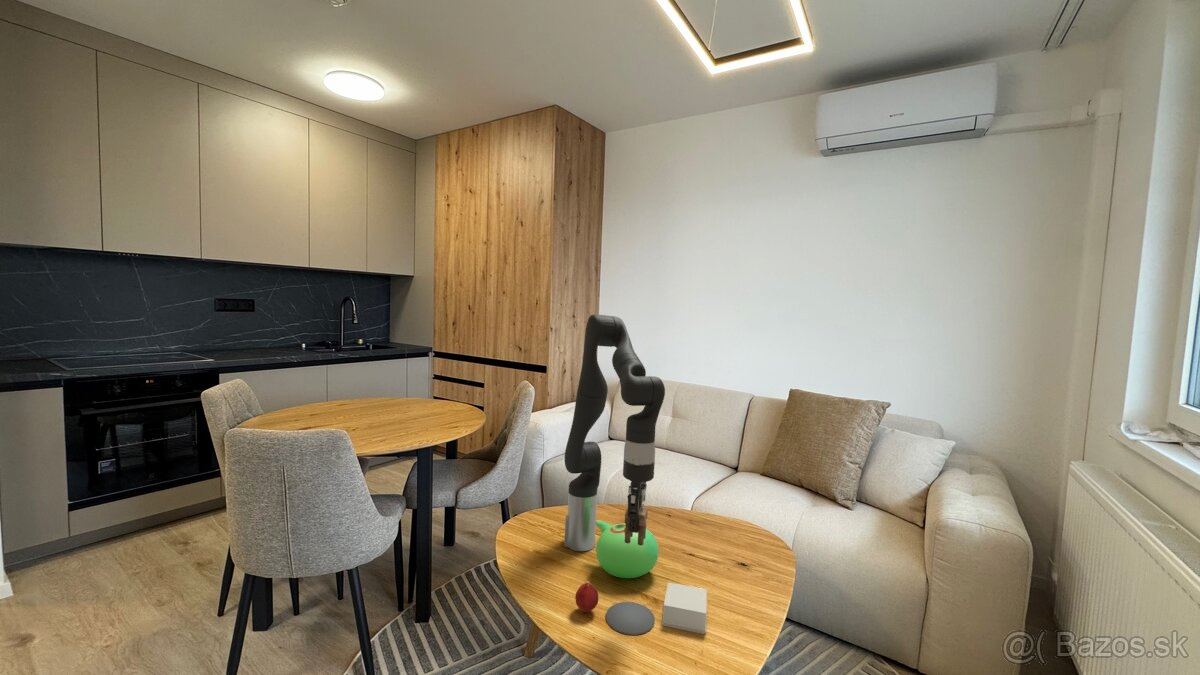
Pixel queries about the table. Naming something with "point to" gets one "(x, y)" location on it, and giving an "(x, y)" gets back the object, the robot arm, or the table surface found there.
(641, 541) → the walnut stool
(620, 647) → the table surface
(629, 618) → the charcoal felt mat
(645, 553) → the toy bird
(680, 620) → the white square box
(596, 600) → the onion
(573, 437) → the robot arm
